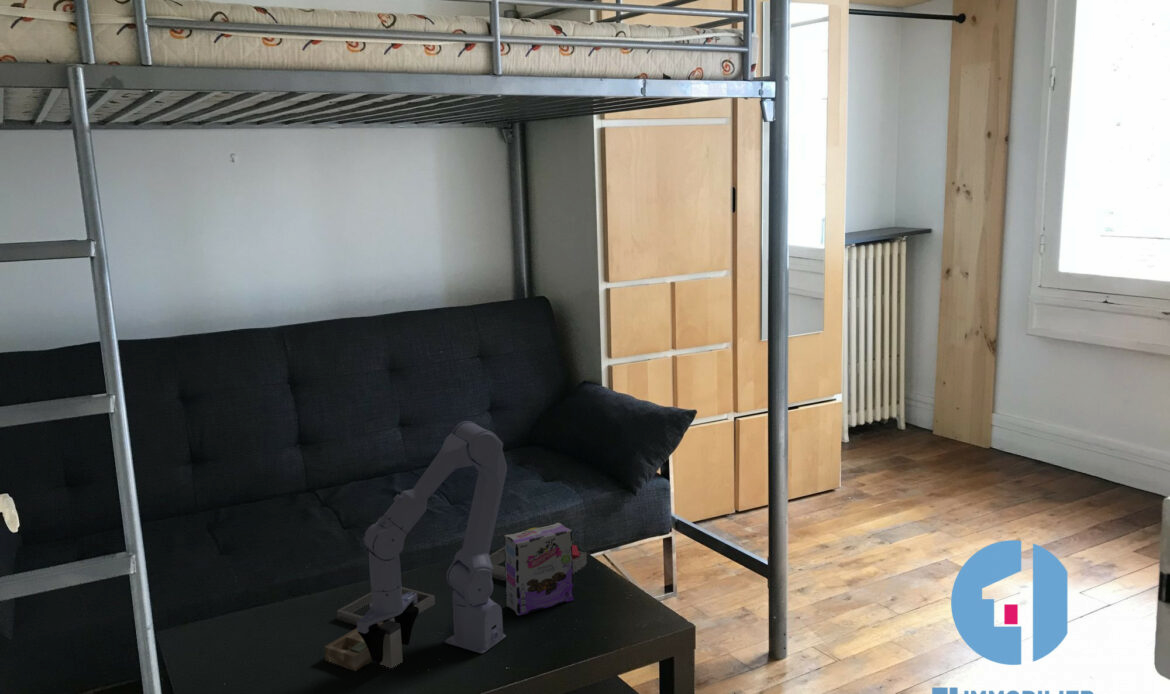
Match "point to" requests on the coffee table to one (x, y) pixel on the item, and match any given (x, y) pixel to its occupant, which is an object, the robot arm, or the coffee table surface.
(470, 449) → the robot arm
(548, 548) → the candy box
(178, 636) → the coffee table surface
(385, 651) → the white upright block
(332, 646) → the socket block
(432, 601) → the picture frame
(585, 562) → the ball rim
